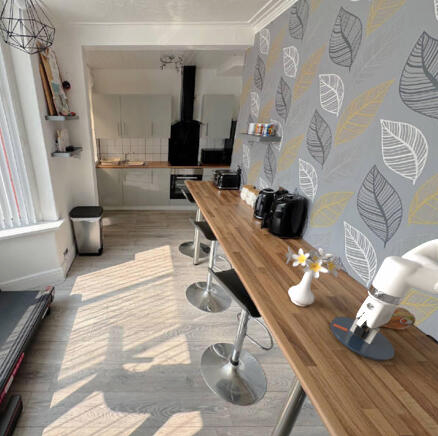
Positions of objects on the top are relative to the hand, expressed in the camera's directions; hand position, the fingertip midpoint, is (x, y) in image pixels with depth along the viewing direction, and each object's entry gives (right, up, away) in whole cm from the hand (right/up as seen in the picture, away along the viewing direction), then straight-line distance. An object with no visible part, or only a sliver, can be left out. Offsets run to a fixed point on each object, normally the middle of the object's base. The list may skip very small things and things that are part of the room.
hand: (361, 334), depth 81 cm
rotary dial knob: (0, -1, +1) cm, 1 cm away
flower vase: (-11, +5, +18) cm, 22 cm away
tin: (+16, 0, +9) cm, 18 cm away
